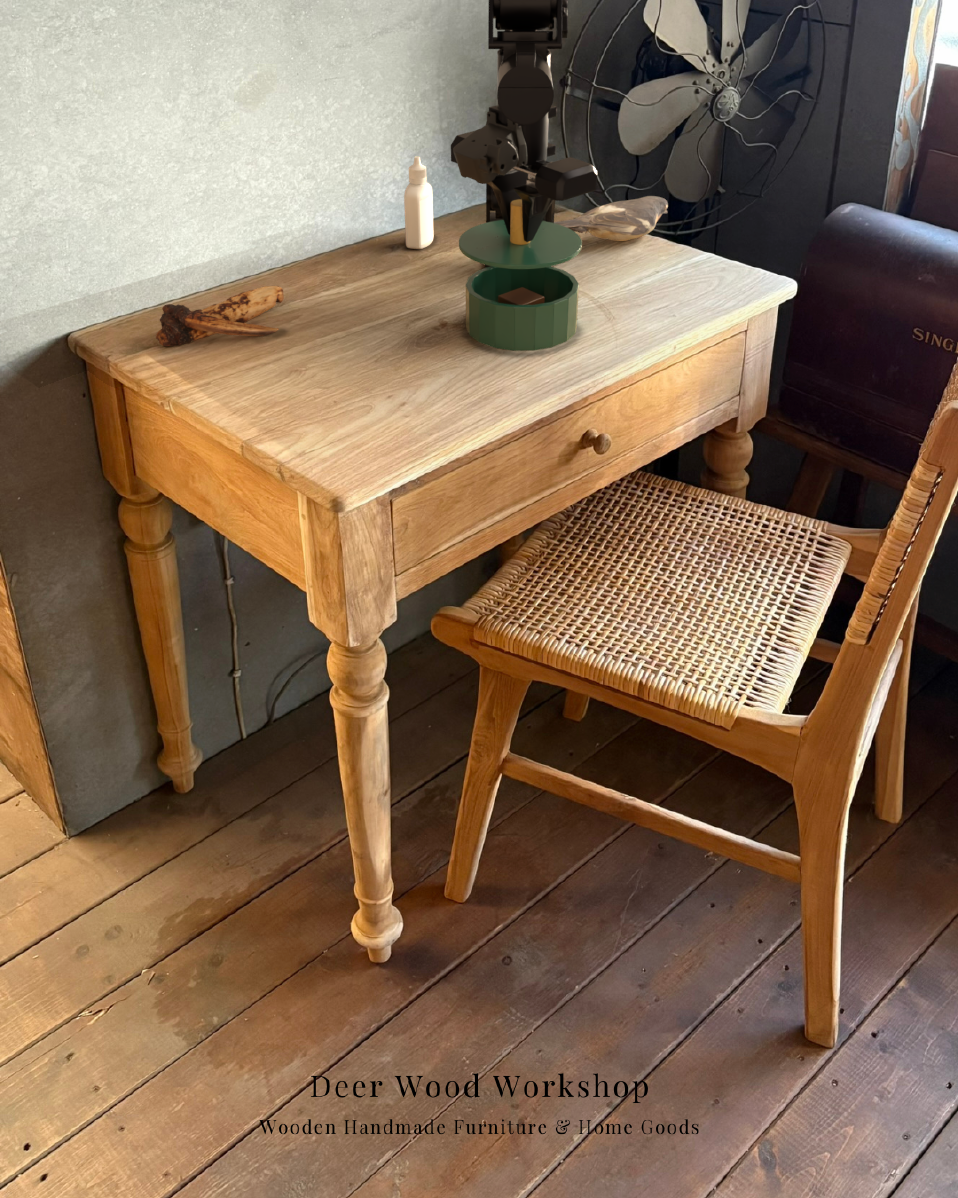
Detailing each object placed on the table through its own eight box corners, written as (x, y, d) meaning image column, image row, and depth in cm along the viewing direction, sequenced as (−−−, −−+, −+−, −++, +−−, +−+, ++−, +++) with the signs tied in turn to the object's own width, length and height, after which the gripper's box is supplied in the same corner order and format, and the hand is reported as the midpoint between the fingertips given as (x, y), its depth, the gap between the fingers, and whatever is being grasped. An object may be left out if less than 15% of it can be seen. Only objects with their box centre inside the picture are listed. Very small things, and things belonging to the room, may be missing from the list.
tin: (443, 328, 147) (442, 282, 143) (524, 299, 154) (525, 254, 150) (517, 365, 139) (518, 317, 135) (599, 332, 146) (602, 285, 142)
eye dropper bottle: (444, 242, 170) (443, 156, 162) (414, 252, 167) (411, 165, 159) (425, 233, 172) (422, 148, 165) (394, 243, 169) (391, 157, 162)
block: (497, 326, 146) (497, 295, 144) (521, 317, 148) (522, 286, 146) (519, 336, 144) (520, 305, 141) (543, 327, 146) (544, 296, 143)
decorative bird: (684, 232, 173) (688, 197, 170) (553, 271, 161) (554, 234, 158) (654, 219, 177) (657, 185, 174) (523, 256, 165) (524, 221, 162)
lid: (433, 247, 140) (432, 200, 137) (523, 219, 148) (524, 173, 144) (516, 284, 132) (517, 235, 128) (607, 252, 139) (610, 204, 136)
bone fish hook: (190, 371, 139) (313, 322, 148) (184, 334, 136) (310, 287, 145) (147, 343, 144) (269, 298, 153) (140, 307, 141) (265, 263, 150)
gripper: (411, 93, 131) (416, 232, 140) (526, 131, 120) (523, 279, 129) (487, 75, 137) (487, 210, 146) (604, 110, 125) (596, 253, 135)
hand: (520, 237), depth 139 cm, fingers closed on lid, 2 cm apart
